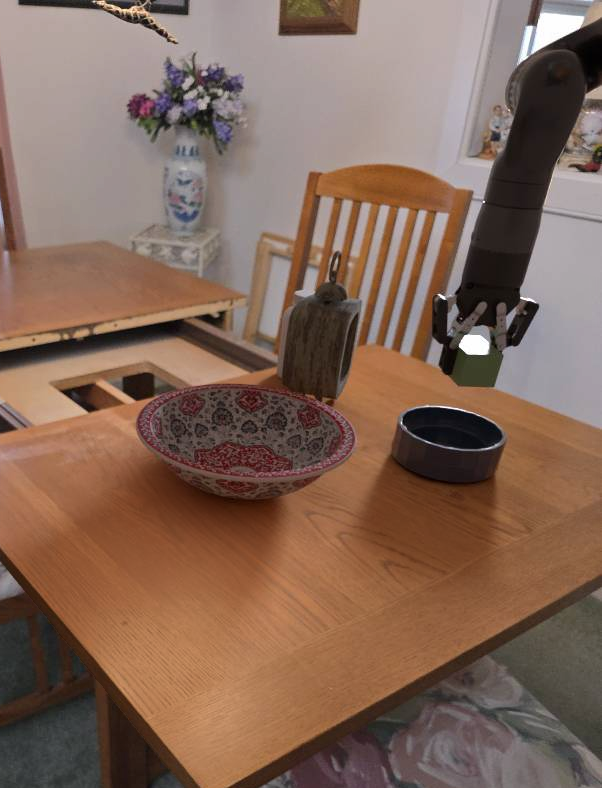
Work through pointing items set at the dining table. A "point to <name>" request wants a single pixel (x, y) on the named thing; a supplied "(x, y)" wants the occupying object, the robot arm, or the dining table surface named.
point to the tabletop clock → (321, 340)
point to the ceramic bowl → (245, 438)
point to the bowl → (448, 443)
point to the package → (476, 363)
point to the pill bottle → (296, 298)
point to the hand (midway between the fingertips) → (466, 373)
